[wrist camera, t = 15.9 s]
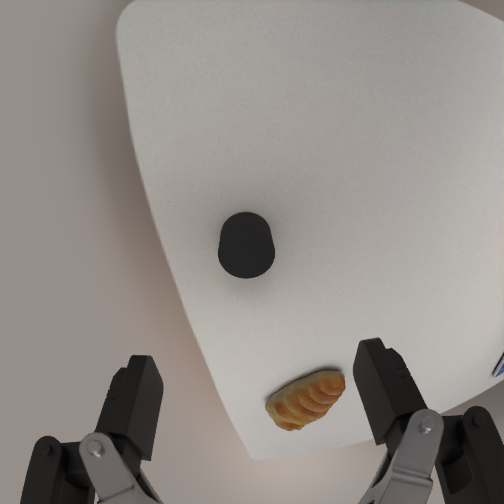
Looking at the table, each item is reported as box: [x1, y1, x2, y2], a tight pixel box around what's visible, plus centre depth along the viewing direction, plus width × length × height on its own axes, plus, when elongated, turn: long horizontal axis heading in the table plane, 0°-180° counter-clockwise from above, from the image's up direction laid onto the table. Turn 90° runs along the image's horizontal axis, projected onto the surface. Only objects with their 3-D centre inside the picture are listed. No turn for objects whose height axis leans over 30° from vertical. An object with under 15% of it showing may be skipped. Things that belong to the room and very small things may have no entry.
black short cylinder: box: [218, 212, 275, 279], centre depth 19 cm, size 4×4×3 cm
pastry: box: [265, 371, 345, 431], centre depth 28 cm, size 9×7×4 cm
